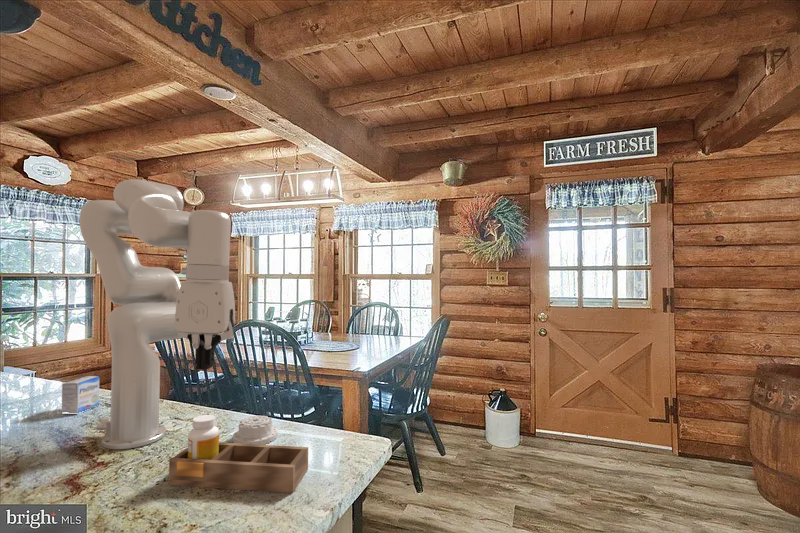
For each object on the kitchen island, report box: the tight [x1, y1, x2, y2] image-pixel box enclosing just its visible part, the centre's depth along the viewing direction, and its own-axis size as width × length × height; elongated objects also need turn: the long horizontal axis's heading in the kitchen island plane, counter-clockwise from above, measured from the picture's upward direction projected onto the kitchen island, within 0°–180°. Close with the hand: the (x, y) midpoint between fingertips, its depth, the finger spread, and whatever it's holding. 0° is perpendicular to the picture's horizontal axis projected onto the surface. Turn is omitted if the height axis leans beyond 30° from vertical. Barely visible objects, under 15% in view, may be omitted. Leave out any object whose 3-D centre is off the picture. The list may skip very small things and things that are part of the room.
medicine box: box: [61, 375, 100, 413], centre depth 113 cm, size 8×4×9 cm, turn 179°
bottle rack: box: [168, 441, 309, 494], centre depth 77 cm, size 24×9×4 cm, turn 85°
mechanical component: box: [232, 414, 278, 445], centre depth 96 cm, size 10×4×10 cm
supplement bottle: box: [187, 414, 220, 460], centre depth 78 cm, size 5×5×10 cm
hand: (204, 368), depth 79 cm, fingers closed
